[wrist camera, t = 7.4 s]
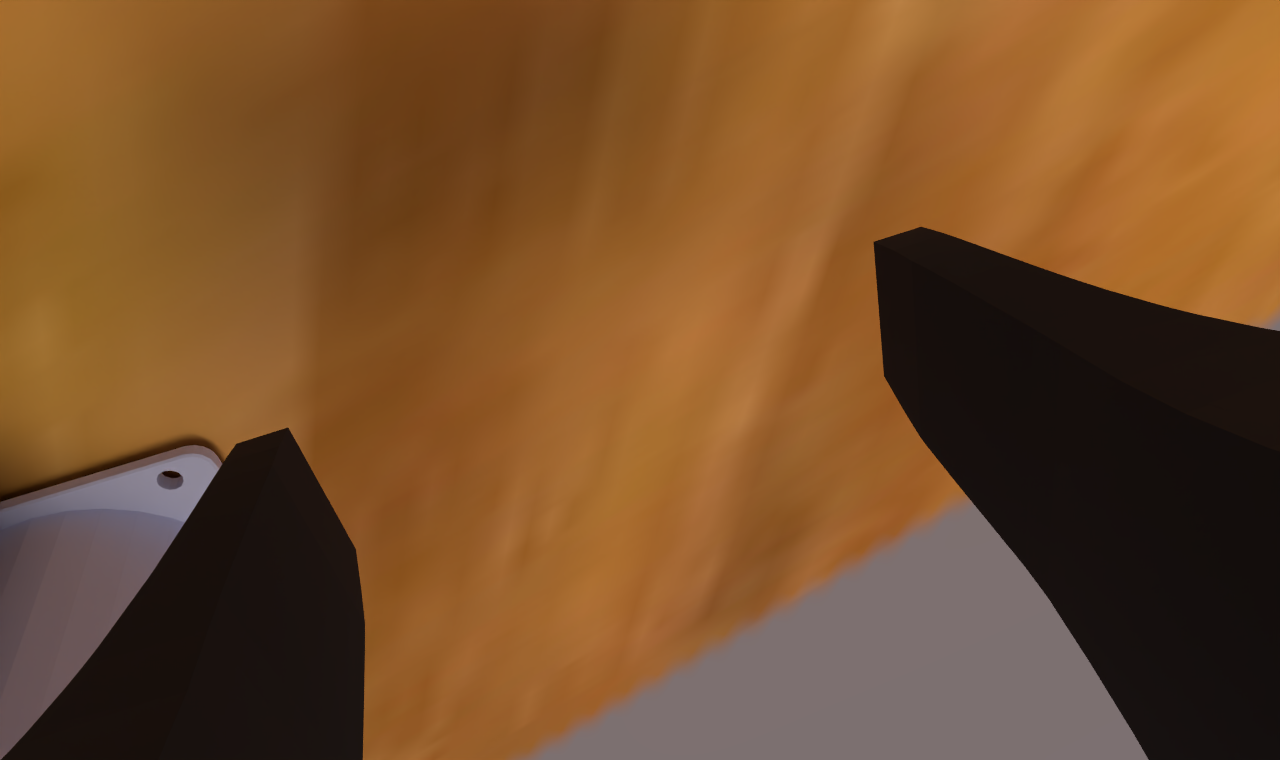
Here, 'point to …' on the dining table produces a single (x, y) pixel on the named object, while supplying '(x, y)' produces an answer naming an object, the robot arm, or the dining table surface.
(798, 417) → the dining table surface
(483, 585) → the dining table surface
